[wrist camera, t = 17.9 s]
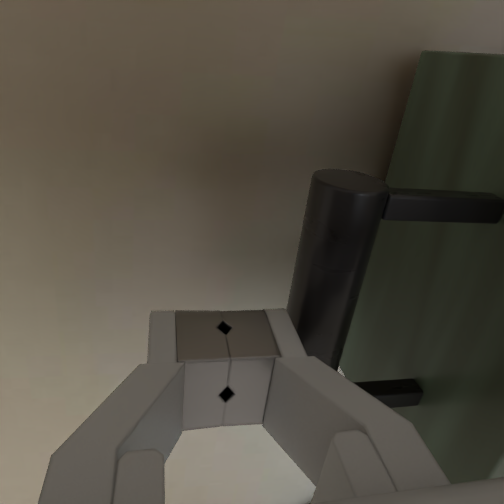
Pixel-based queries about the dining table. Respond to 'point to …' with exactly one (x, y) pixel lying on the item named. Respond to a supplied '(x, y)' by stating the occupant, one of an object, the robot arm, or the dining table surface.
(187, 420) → the robot arm
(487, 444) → the drawer
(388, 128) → the dining table surface
